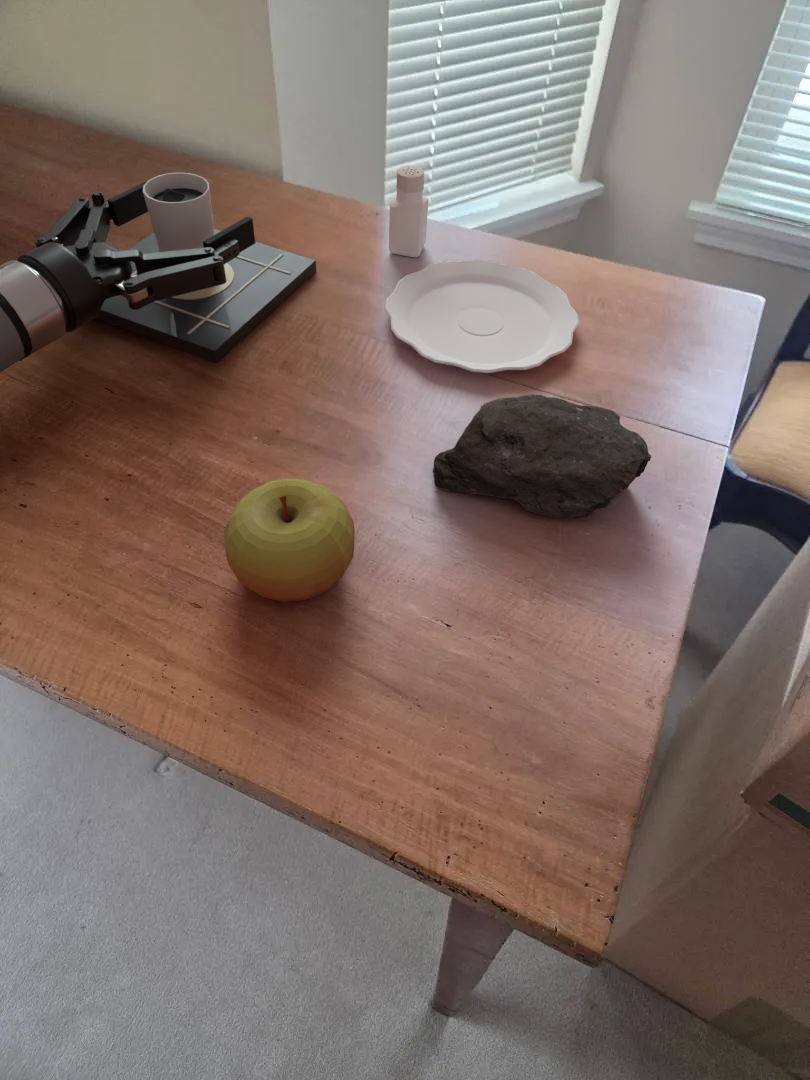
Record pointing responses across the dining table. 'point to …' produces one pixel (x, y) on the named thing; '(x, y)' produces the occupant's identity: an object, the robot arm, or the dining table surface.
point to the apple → (289, 539)
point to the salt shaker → (408, 213)
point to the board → (215, 302)
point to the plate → (481, 316)
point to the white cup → (179, 210)
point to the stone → (544, 456)
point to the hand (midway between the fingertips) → (203, 209)
